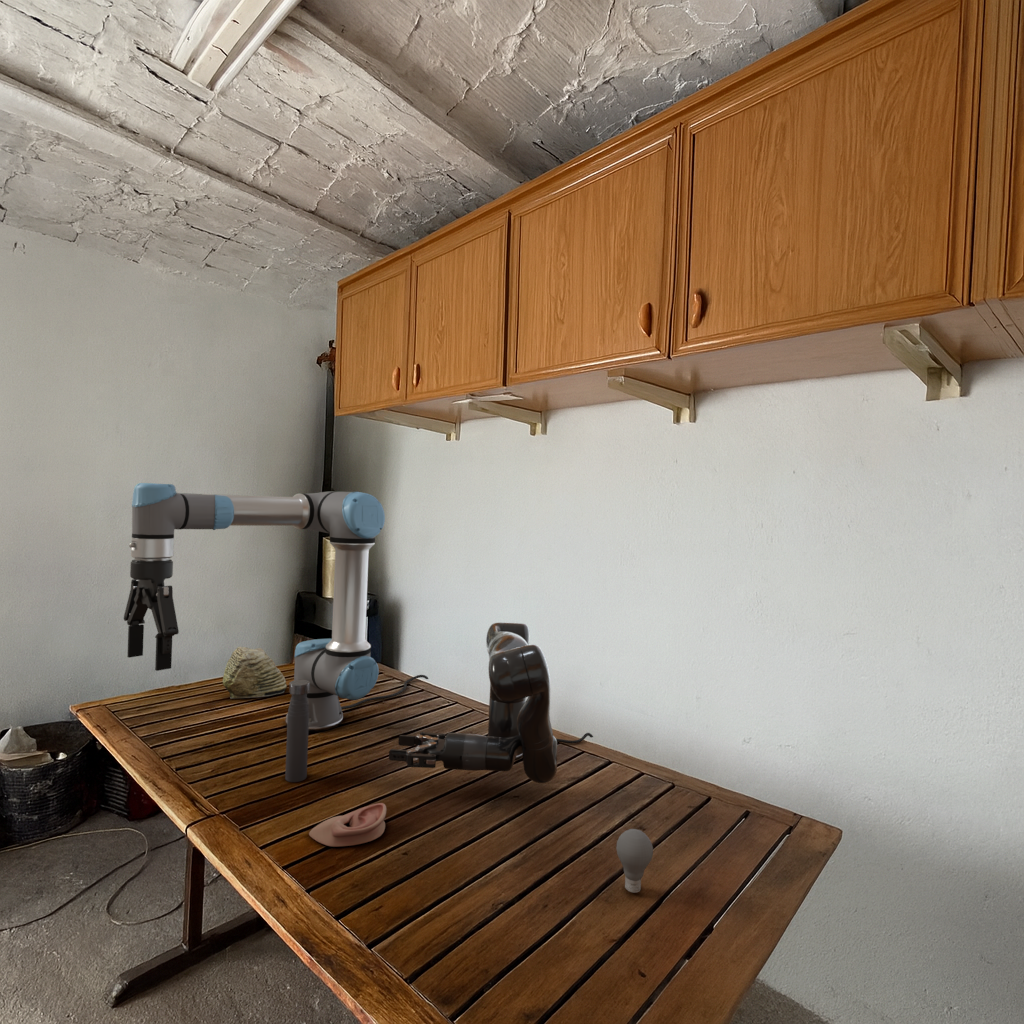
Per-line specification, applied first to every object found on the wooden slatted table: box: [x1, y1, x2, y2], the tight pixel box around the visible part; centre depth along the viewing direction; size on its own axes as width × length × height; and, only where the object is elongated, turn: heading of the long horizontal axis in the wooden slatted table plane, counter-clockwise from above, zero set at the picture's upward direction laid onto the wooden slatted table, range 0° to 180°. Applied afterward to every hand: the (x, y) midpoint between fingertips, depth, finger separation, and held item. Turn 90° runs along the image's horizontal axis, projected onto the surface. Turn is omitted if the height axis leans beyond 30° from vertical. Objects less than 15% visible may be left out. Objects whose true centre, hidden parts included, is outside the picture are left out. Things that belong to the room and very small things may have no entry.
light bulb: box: [615, 828, 654, 894], centre depth 106 cm, size 6×6×10 cm
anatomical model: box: [308, 802, 387, 848], centre depth 120 cm, size 13×4×12 cm
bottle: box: [284, 694, 309, 783], centre depth 142 cm, size 5×5×21 cm
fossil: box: [222, 646, 288, 699], centre depth 198 cm, size 9×18×15 cm, turn 132°
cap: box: [288, 679, 310, 696], centre depth 142 cm, size 4×4×2 cm
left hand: (148, 662), depth 129 cm, fingers open, 13 cm apart
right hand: (394, 747), depth 141 cm, fingers open, 8 cm apart
